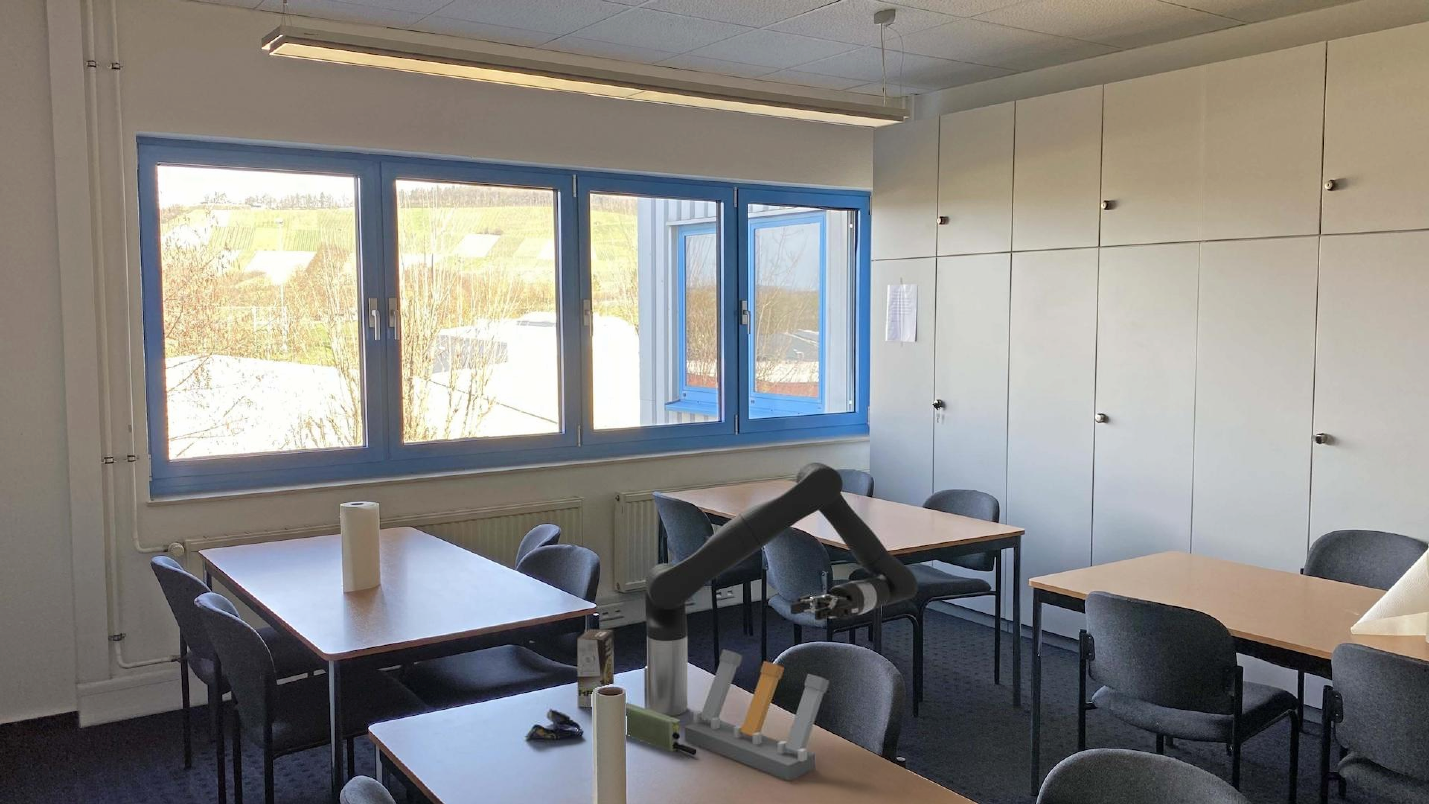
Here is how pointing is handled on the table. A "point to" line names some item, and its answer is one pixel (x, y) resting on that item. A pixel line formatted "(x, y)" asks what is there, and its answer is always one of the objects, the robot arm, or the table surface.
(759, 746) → the pegged base beam
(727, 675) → the left paddle
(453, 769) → the table surface
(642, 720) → the handheld radio
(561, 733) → the snack package
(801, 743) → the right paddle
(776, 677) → the orange paddle
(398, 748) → the table surface
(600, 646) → the coffee box
